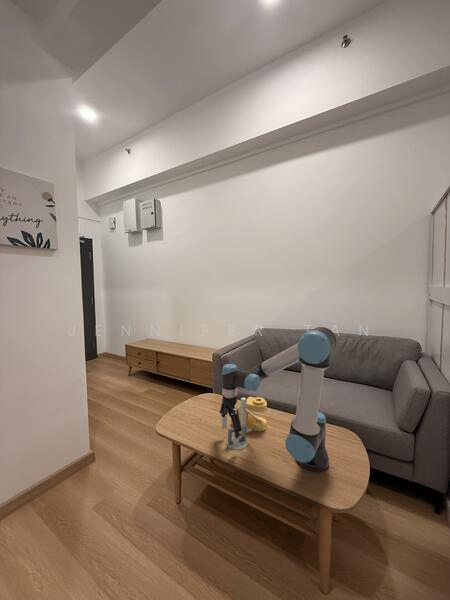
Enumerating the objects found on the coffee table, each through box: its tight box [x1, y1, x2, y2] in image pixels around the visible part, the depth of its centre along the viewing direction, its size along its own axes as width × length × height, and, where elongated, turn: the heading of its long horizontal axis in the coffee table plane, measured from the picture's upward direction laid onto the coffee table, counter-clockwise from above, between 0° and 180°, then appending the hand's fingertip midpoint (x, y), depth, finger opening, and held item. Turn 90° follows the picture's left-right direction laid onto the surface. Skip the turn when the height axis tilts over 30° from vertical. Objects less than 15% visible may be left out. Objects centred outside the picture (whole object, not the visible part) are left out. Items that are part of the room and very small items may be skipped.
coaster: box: [226, 435, 249, 451], centre depth 128 cm, size 11×11×1 cm
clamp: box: [230, 396, 268, 432], centre depth 145 cm, size 20×9×16 cm, turn 62°
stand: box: [239, 397, 260, 435], centre depth 134 cm, size 20×7×18 cm, turn 25°
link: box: [227, 425, 247, 445], centre depth 128 cm, size 2×10×8 cm, turn 115°
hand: (230, 435), depth 126 cm, fingers open, 13 cm apart
